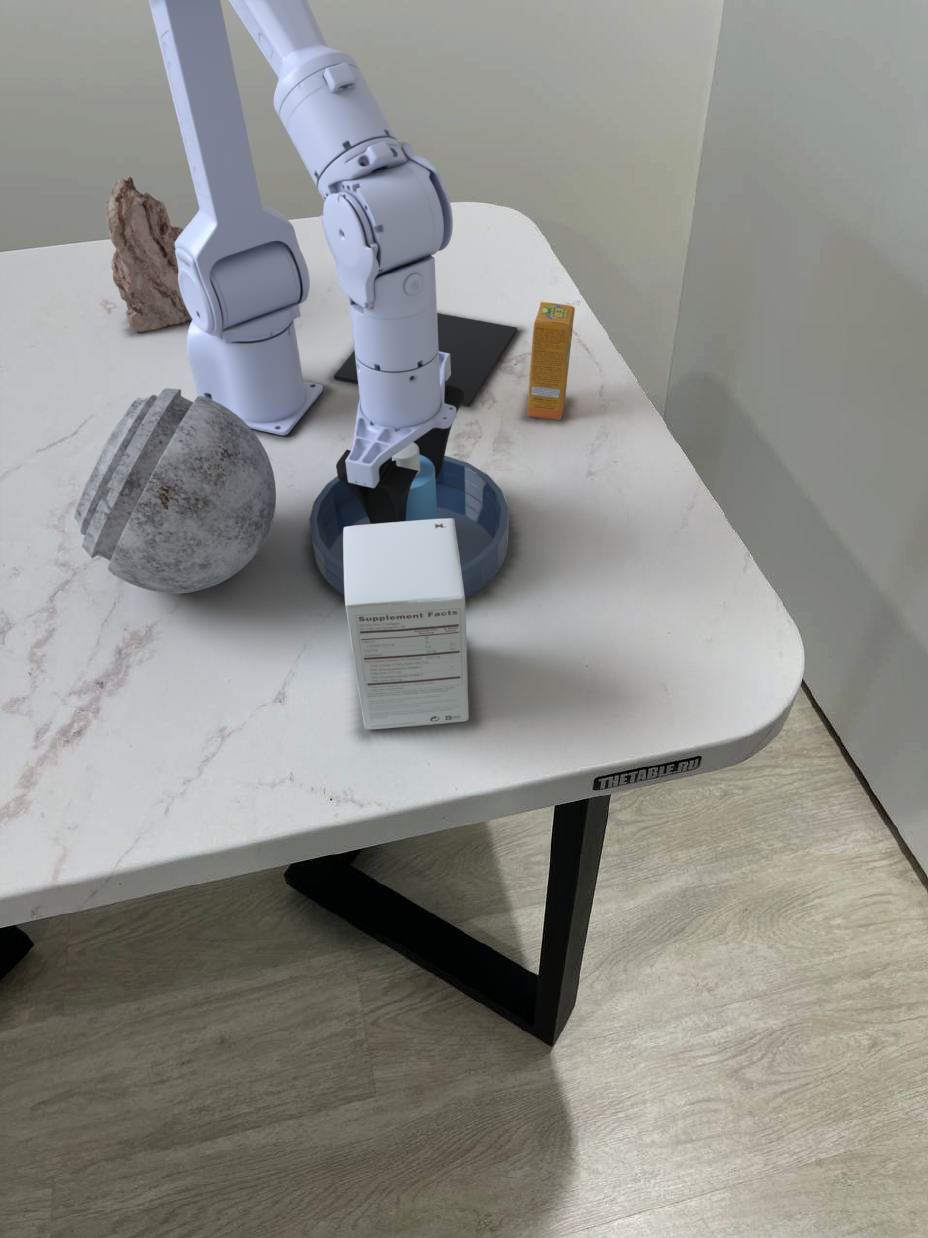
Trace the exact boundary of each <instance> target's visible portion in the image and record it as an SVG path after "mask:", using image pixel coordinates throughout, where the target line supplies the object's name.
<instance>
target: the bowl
mask: <svg viewBox="0 0 928 1238" xmlns="http://www.w3.org/2000/svg"><path fill="white" fill-rule="evenodd" d="M435 481H436V502H437V519H448V518H453V519H454V521H455V529H456V537H457V545H458V551H459V557H460V566H461V573H462V581H463V588H464V595H465V599H466V598H468V597H470V596H472V595H474V594H475V593H476V592H478V591H479V590H481V589H482V588H483V587H485V586H486V585H487V584H488V583H489V582H490V581H491V580H493V578H494V577H495V576H496V575H497V573H498V572H499V570H500V569H501V567H502V565H503V564H504V561H505V559H506V555H507V552H508V547H509V546H508V545H509V544H508V543H509V518H510V517H509V515H510V514H509V513H510V512H509V511H510V507H509V506H508V502H507V500H506V497H505V496H504V492H503V490H502V489H501V487H499V485H498V484H497V483H496V482H495V481H494V480H493V479H492V477H491V476H490V475H489V474H487V473H486V472H484V471H482V470H481V469H479V468H478V467H476V466H474V465H473V464H471V463H469V462H466V461H463V460H460V459H457V458H454V457H451V456H448V455H445V456H444V461H443V465H442V469H441V472H440V474H439V476H438V478H435ZM308 523H309V529H310V535H311V541H312V548H313V553H314V558H315V563H316V565H317V567H318V569H319V572H320V573H321V575H322V576H323V578H324V580H326V582H327V583H328V584H329V585H330V586H331V587H332V588H334V589H335V590H336V591H337V592H338V593H339V594H341V595H343V596H344V597H345V593H344V563H343V530H344V527H347V526H355V525H366V524H371V523H370V520H369V518H368V516H367V514H366V512H365V510H364V508H363V506H362V504H361V503H360V501H359V500H358V498H357V497H356V496H355V495H354V493H353V492H352V491H351V490H350V489H349V488H348V487H347V486H346V485H345V484H344V483H343V482H342V481H341V480H340V479H339V478H338V475H337V476H335V477H334V478H333V479H331V480H330V481H329V482H327V483H326V484H325V485H324V487H323V489H322V490H321V491H320V492H319V494H318V495H317V497H316V498H315V499H314V500H313V504H312V508H311V511H310V516H309V519H308Z"/></svg>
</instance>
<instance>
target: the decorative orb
mask: <svg viewBox="0 0 928 1238" xmlns="http://www.w3.org/2000/svg"><path fill="white" fill-rule="evenodd" d="M276 487H277V486H276V479H275V473H274V470H273V467H272V464H271V460H270V457H269V455H268V453H267V451H266V449H265V446H264V445H263V443H262V442H261V440H260V439H259V437H258V436H257V434H256V433H255V432H254V431H253V429H251V428H250V427H249V426H248V425H247V424H246V423H245V422H244V421H243V420H242V419H241V418H239V417H238V416H237V415H236V414H235V413H233V412H232V411H230V410H229V409H228V408H226V407H224V406H223V405H221V404H219V403H217V402H215V401H213V400H211V399H208V398H205V397H202V396H198V395H197V397H196V398H195V400H193V401H192V400H190V399H188V398H185V397H184V396H182V389H181V388H169V387H168V388H167V387H165V388H164V389H163V390H162V391H161V392H160V393H159V395H158V396H157V395H155V394H152V395H150V396H147V397H144V398H142V397H137V398H136V399H134V400H133V402H132V403H131V404H130V406H129V407H128V409H127V410H126V411H125V413H124V414H123V416H122V417H121V419H120V420H119V421H118V423H117V424H116V426H115V427H114V429H113V430H112V431H111V433H110V435H109V436H108V438H107V439H106V441H105V443H104V444H103V446H102V447H101V449H100V451H99V453H98V455H97V457H96V459H95V461H94V463H93V466H92V468H91V470H90V472H89V474H88V477H87V479H86V482H85V484H84V487H83V490H82V492H81V495H80V498H79V500H78V503H77V506H76V509H75V512H74V517H73V518H74V520H75V521H76V522H77V523H78V526H79V529H80V530H79V531H80V534H81V535H83V536H84V537H83V541H82V548H83V549H84V550H85V552H86V553H87V555H89V557H90V558H91V559H93V558H95V557H97V556H99V557H101V558H102V559H105V560H107V561H109V563H108V565H107V570H108V571H109V573H111V574H113V575H114V576H115V577H117V578H119V579H121V580H123V581H124V582H126V583H128V584H131V585H133V586H136V587H138V588H141V589H144V590H147V591H152V592H155V593H157V592H158V593H165V594H185V593H193V592H198V591H203V590H206V589H209V588H213V587H215V586H216V585H219V584H221V583H223V582H225V581H227V580H228V579H230V578H232V577H233V576H235V575H236V574H238V573H239V572H241V570H242V569H244V568H245V567H246V566H247V565H248V564H249V563H250V562H251V561H252V560H253V558H255V556H256V555H257V554H258V552H259V550H260V549H261V548H262V546H263V545H264V542H265V541H266V539H267V537H268V534H269V532H270V530H271V526H272V524H273V520H274V516H275V511H276V502H277V488H276Z"/></svg>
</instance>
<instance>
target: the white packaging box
mask: <svg viewBox="0 0 928 1238" xmlns="http://www.w3.org/2000/svg"><path fill="white" fill-rule="evenodd" d="M343 563H344V593H345V596H344V605H345V612H346V619H347V625H348V630H349V637H350V638H349V639H350V645H351V653H352V658H353V665H354V671H355V678H356V685H357V690H358V697H359V702H360V708H361V715H362V720H363V725H364V729H365V730H384V729H385V730H386V729H395V728H396V729H397V728H407V727H418V726H419V727H421V726H432V725H433V726H434V725H441V724H453V723H464V722H468V721H469V719H470V718H469V716H470V715H469V712H470V711H469V691H468V690H469V687H468V645H467V644H468V643H467V613H466V612H467V610H466V598H465V595H464V588H463V581H462V573H461V566H460V557H459V551H458V545H457V537H456V529H455V521H454V519H453V518H448V519H428V520H416V521H403V522H392V523H379V524H366V525H355V526H347V527H344V530H343Z"/></svg>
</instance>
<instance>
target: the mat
mask: <svg viewBox="0 0 928 1238" xmlns="http://www.w3.org/2000/svg"><path fill="white" fill-rule="evenodd" d="M437 324H438V349H439V352H444V353H449V354H450V365H451V375H450V377H449V378H448V380H447V381H445V385H449V386H454V387H458V388H460V389H462V390H463V391H464V398H465V399H464V401H463V403H462V404H461V406H464V407H471V405H472V404H473V402H474V401H475V399H476V397H477V396H478V394H479V393H480V391H481V389H482V388H483V386H484V384H485V383H486V381H487V380H488V378H489V377H490V375H491V373H492V372H493V370H494V369H495V367H496V365H497V364H498V362H499V361H500V359H501V357H502V356H503V355H504V353H505V351H506V349H507V348H508V346H509V345H510V343H511V342H512V340H513V339H514V337H515V335H516V333H517V332H518V327H516V326H511V325H507V324H506V325H505V324H502V323H501V324H500V323H495V322H489V321H483V320H479V319H473V318H466V317H462V316H456V315H451V314H444V313H440V312H437ZM333 378H334V379H333V380H338V381H342V382H347V383H353V384H356V385H358V376H357V367H356V359H355V349H354V350H353V351H352V353H351V354H350V355H349V356H348V357H347V358H346V360H345V361H344V363H343V364H342V365H341V366H340V368H339V369H338V370H336V372H335V374H334V375H333Z"/></svg>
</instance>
